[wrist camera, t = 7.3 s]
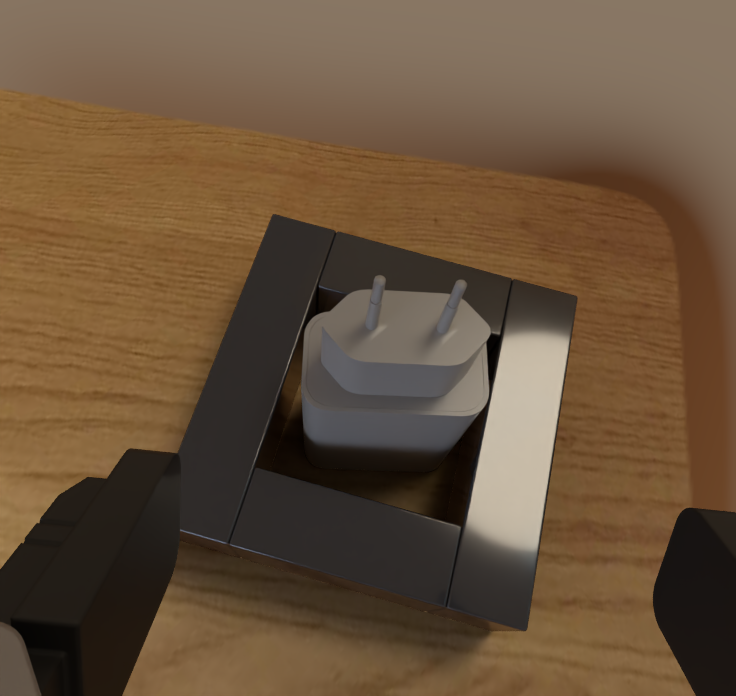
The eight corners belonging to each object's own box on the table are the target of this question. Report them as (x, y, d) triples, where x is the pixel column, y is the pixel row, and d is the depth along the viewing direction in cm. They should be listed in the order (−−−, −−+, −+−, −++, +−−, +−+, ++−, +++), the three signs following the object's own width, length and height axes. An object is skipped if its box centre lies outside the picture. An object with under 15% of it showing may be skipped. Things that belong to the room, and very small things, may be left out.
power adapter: (444, 472, 25) (546, 350, 14) (303, 468, 25) (295, 338, 14) (442, 396, 26) (534, 229, 15) (307, 390, 26) (303, 215, 15)
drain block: (543, 340, 28) (578, 295, 24) (493, 632, 23) (527, 632, 19) (277, 267, 28) (272, 212, 25) (174, 539, 23) (149, 521, 20)
